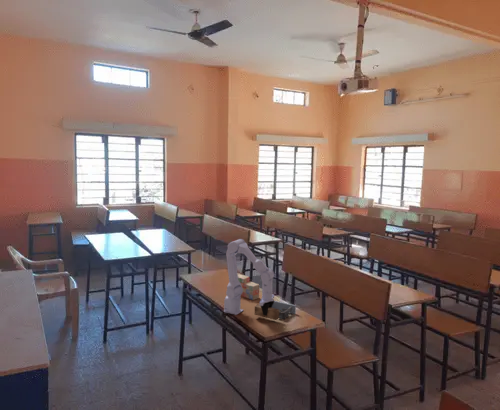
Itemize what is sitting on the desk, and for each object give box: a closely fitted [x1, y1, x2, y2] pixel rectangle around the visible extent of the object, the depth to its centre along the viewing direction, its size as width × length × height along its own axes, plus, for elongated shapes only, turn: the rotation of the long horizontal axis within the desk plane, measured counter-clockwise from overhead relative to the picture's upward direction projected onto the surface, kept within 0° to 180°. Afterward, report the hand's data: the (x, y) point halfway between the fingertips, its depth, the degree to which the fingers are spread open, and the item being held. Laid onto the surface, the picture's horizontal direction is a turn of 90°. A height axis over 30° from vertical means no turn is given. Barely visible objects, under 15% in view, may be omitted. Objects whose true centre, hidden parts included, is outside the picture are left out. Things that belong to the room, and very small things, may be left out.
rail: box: [254, 304, 280, 321], centre depth 221 cm, size 14×4×5 cm, turn 60°
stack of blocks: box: [238, 273, 260, 301], centre depth 260 cm, size 21×6×12 cm, turn 45°
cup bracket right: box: [279, 308, 290, 320], centre depth 225 cm, size 4×7×4 cm, turn 150°
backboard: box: [272, 300, 297, 315], centre depth 234 cm, size 21×5×5 cm, turn 60°
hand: (266, 313), depth 221 cm, fingers closed on rail, 4 cm apart
